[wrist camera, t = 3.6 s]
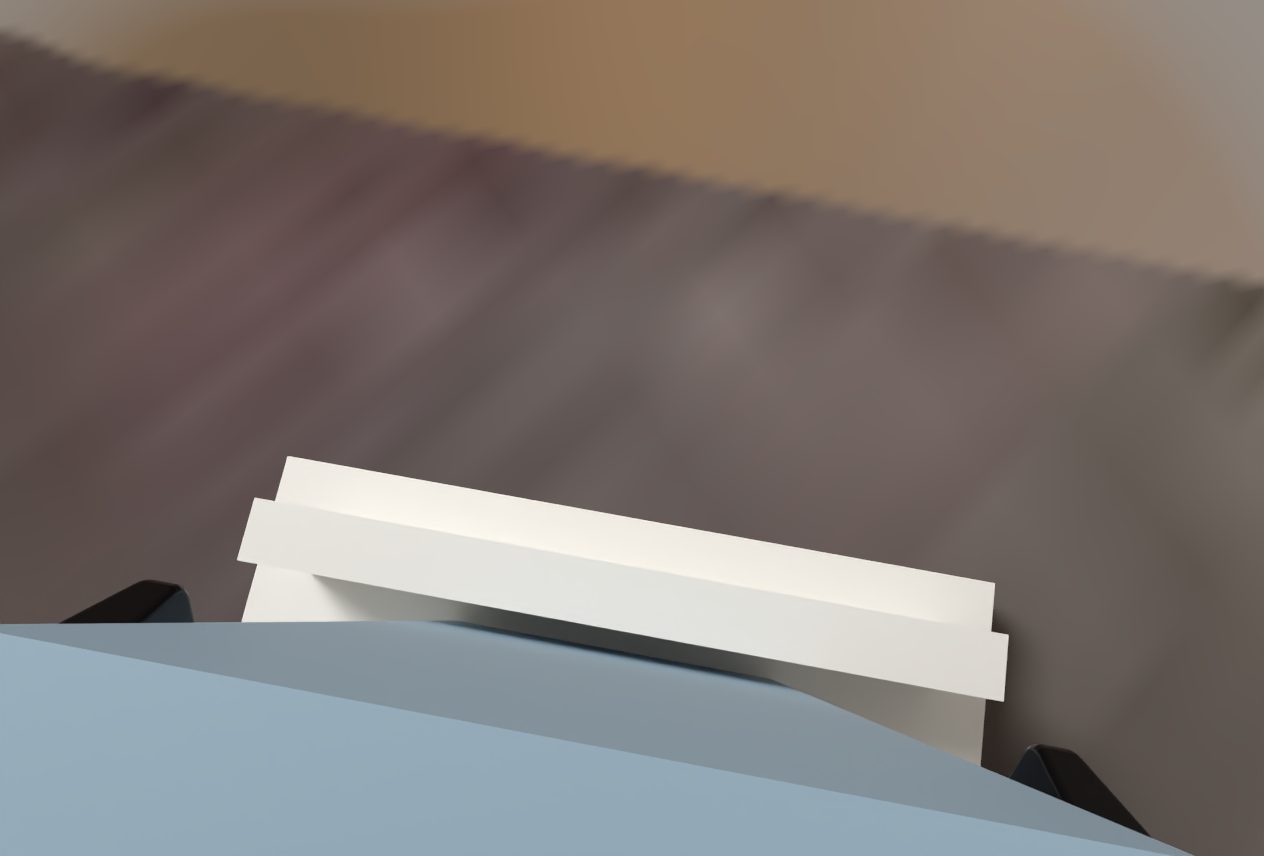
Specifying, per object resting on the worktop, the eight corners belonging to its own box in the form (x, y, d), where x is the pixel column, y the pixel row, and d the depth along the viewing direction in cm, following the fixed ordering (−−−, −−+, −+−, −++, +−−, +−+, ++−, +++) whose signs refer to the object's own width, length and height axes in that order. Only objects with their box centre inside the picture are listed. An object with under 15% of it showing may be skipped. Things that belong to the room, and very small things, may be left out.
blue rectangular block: (754, 791, 15) (1199, 1394, 3) (432, 730, 15) (-213, 1099, 4) (770, 678, 15) (1212, 863, 4) (456, 620, 16) (-45, 625, 4)
